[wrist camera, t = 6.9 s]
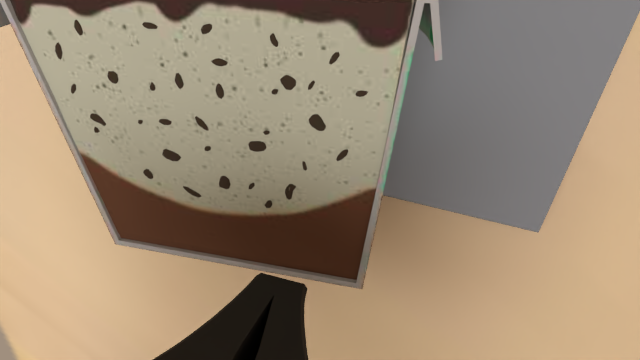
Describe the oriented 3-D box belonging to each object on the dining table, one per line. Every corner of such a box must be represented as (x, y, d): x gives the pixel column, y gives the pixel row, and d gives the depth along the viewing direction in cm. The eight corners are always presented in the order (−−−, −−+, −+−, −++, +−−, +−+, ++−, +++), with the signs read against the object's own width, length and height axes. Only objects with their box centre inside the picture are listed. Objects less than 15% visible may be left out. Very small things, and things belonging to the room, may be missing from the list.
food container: (421, 188, 20) (458, -75, 14) (407, 297, 15) (456, -39, 9) (164, 154, 22) (106, -81, 17) (81, 238, 17) (-42, -55, 12)
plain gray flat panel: (536, 228, 19) (538, 232, 19) (148, 135, 20) (144, 138, 20) (705, -146, 13) (712, -148, 13) (157, -242, 15) (153, -247, 14)
